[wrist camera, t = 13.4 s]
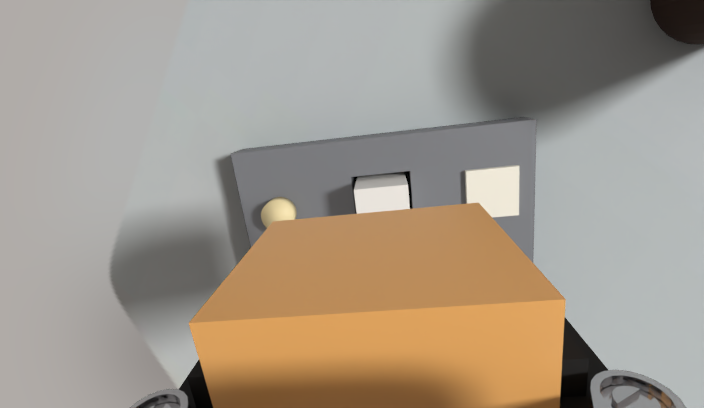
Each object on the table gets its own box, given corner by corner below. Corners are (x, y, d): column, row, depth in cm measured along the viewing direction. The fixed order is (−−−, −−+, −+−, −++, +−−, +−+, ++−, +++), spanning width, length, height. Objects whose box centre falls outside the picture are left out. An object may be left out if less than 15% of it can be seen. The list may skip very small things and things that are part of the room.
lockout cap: (478, 202, 10) (565, 299, 5) (482, 375, 12) (550, 565, 7) (272, 221, 11) (189, 322, 6) (304, 383, 13) (258, 562, 8)
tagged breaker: (403, 169, 24) (408, 184, 20) (407, 213, 24) (412, 235, 21) (358, 174, 24) (353, 189, 20) (363, 217, 25) (359, 239, 21)
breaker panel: (523, 117, 22) (567, 124, 17) (519, 402, 28) (550, 473, 23) (242, 149, 24) (203, 164, 19) (296, 410, 30) (278, 476, 25)
